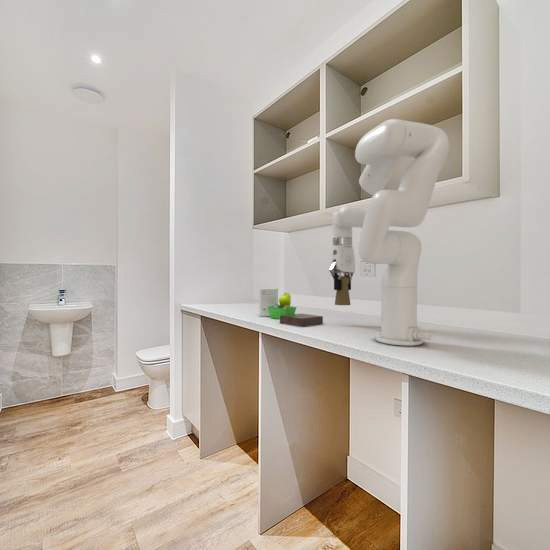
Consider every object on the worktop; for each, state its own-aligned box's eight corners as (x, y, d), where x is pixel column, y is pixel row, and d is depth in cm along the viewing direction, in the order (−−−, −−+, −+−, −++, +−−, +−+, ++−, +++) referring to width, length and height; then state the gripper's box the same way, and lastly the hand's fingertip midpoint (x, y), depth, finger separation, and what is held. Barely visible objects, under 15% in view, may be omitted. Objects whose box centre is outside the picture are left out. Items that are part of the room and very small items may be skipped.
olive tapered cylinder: (346, 305, 116) (346, 276, 116) (331, 304, 120) (331, 276, 120) (353, 304, 121) (353, 276, 121) (338, 304, 124) (338, 276, 125)
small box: (275, 314, 151) (276, 288, 151) (277, 316, 145) (278, 288, 145) (259, 315, 150) (259, 287, 150) (260, 316, 143) (260, 288, 144)
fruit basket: (266, 318, 139) (266, 292, 139) (279, 316, 145) (279, 292, 146) (286, 320, 131) (286, 293, 131) (299, 318, 138) (299, 293, 138)
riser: (322, 323, 123) (322, 316, 123) (301, 326, 115) (301, 318, 115) (300, 320, 132) (300, 313, 132) (279, 323, 124) (279, 315, 124)
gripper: (336, 240, 113) (336, 290, 112) (363, 244, 124) (363, 290, 123) (320, 242, 118) (320, 290, 118) (347, 246, 130) (347, 289, 129)
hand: (342, 289), depth 120 cm, fingers closed on olive tapered cylinder, 5 cm apart
